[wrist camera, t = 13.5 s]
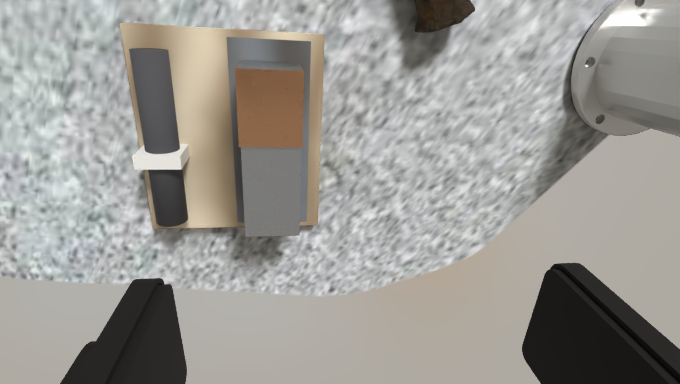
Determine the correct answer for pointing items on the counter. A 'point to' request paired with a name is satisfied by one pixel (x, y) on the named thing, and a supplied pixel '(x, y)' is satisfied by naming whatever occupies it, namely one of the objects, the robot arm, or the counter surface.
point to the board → (227, 112)
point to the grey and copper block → (270, 144)
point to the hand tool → (441, 13)
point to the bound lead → (160, 135)
